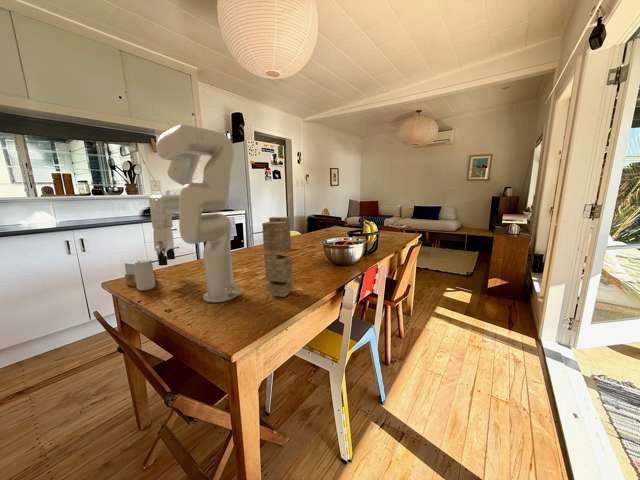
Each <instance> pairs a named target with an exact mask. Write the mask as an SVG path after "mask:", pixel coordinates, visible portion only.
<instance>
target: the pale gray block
mask: <svg viewBox="0 0 640 480" xmlns="http://www.w3.org/2000/svg"><path fill="white" fill-rule="evenodd" d="M145 259H146V258H145ZM145 259H144V258H143V259H142V258H139V259H136V260H132V261H128V262H124V268H125V269H124V270H125V274H128V275H135V272H134V264H135V263H134V262H135V261H138V260H145ZM150 260H151V262H152V263H153V261H152V259H150Z"/></svg>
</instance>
